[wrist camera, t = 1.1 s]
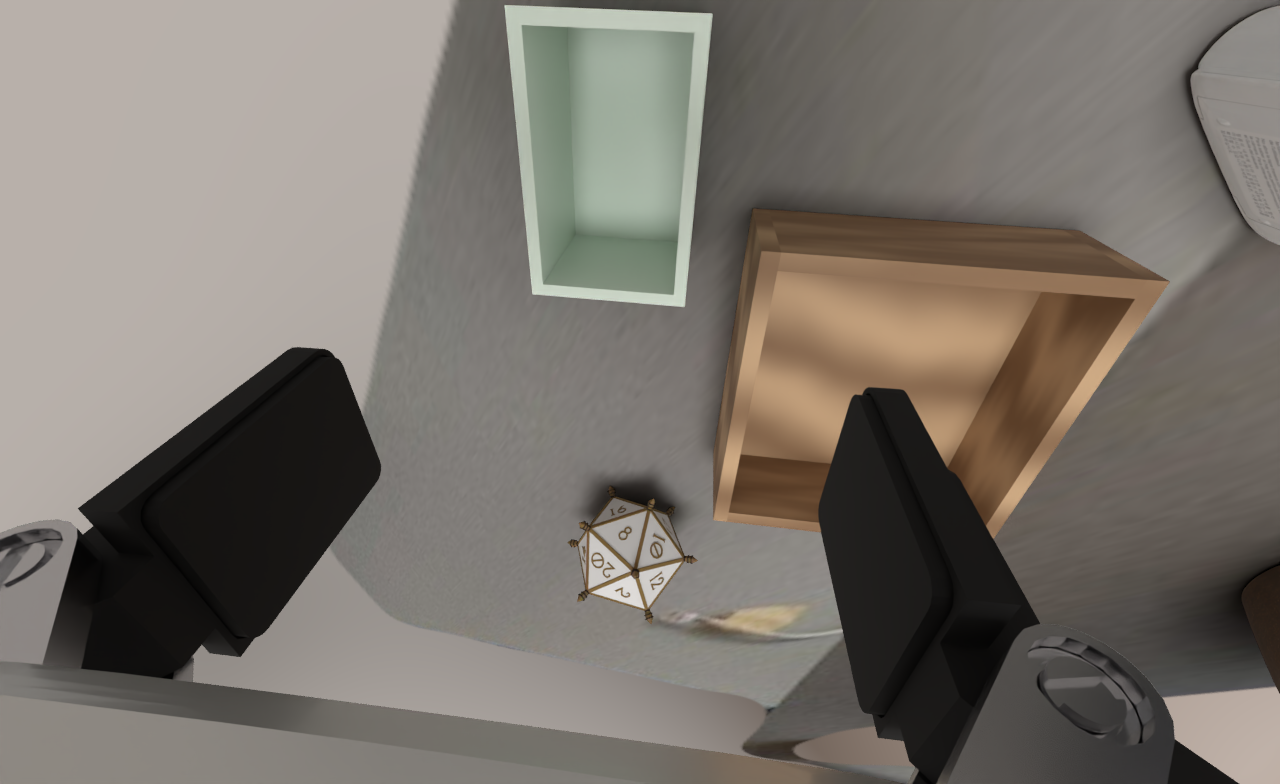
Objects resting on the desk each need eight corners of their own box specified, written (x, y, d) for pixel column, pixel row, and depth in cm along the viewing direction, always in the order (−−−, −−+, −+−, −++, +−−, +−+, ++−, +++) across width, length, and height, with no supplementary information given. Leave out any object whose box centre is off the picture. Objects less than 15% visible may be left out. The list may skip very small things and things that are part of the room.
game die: (622, 482, 44) (529, 563, 38) (650, 441, 37) (540, 534, 31) (696, 563, 42) (608, 659, 37) (740, 537, 35) (639, 651, 30)
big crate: (752, 208, 26) (761, 251, 21) (1080, 230, 25) (1169, 281, 20) (713, 452, 35) (713, 519, 31) (946, 476, 34) (984, 551, 29)
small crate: (558, 9, 22) (504, 5, 16) (712, 16, 21) (712, 13, 16) (569, 239, 28) (532, 294, 22) (690, 248, 27) (684, 306, 22)
